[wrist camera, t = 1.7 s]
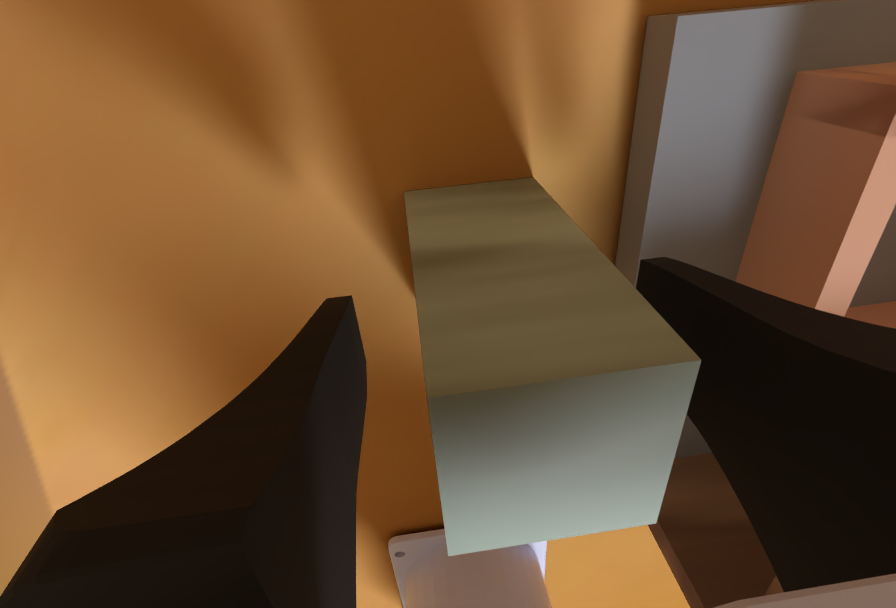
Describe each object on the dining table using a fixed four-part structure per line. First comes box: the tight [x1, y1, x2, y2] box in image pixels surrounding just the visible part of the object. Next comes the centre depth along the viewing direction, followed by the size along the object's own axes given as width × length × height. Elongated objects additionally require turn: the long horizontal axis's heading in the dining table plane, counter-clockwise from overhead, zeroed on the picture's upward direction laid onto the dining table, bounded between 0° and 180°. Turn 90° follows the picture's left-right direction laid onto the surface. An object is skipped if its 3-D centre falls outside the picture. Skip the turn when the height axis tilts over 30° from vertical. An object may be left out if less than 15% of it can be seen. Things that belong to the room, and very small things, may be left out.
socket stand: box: [615, 0, 896, 459], centre depth 16 cm, size 18×16×4 cm
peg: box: [404, 177, 701, 556], centre depth 11 cm, size 4×4×9 cm
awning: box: [648, 453, 784, 608], centre depth 16 cm, size 6×14×8 cm, turn 94°
